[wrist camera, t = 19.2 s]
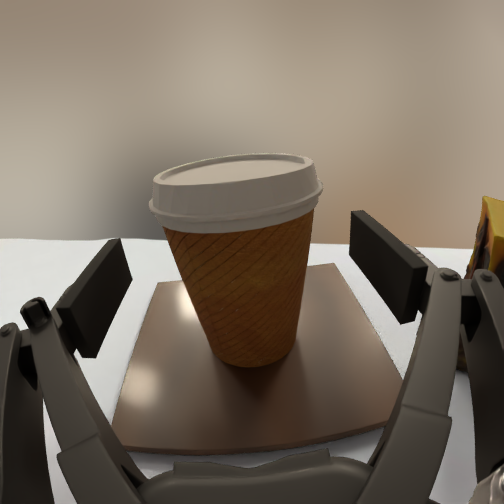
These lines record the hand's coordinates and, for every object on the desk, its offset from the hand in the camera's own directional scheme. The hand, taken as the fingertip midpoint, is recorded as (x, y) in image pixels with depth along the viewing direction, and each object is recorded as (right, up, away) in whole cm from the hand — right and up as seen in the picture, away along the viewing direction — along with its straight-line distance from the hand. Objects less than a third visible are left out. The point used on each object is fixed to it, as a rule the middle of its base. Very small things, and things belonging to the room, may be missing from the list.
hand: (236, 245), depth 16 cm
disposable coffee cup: (+1, -7, +5) cm, 8 cm away
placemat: (+1, -7, +5) cm, 9 cm away
